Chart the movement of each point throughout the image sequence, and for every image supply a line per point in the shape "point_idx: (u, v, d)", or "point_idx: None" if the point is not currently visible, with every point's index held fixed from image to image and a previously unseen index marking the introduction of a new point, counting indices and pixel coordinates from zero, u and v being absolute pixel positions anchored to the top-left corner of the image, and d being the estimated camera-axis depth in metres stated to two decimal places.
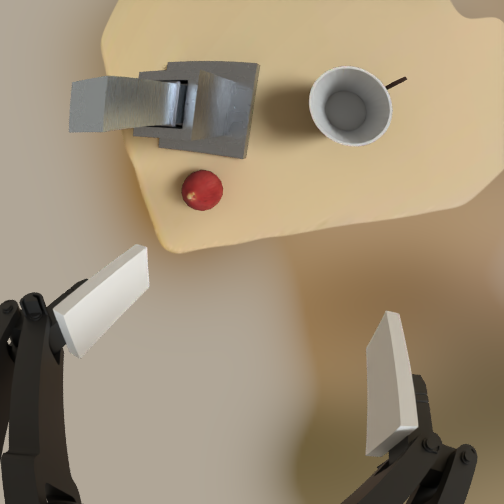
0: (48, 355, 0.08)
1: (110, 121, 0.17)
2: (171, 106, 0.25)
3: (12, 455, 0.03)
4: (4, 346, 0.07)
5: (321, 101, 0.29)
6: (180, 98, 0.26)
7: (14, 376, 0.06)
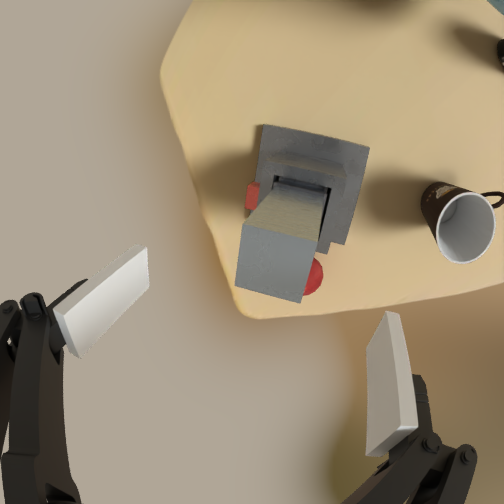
0: (48, 355, 0.08)
1: None
2: None
3: (12, 455, 0.03)
4: (4, 346, 0.07)
5: None
6: None
7: (14, 376, 0.06)
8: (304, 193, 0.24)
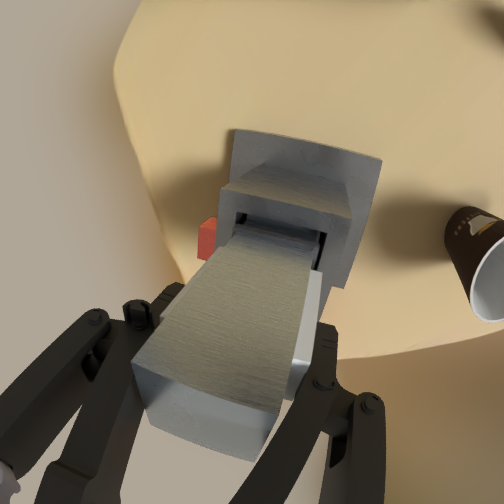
0: None
1: None
2: None
3: (62, 468, 0.04)
4: (79, 361, 0.08)
5: None
6: None
7: (93, 385, 0.07)
8: (281, 247, 0.15)
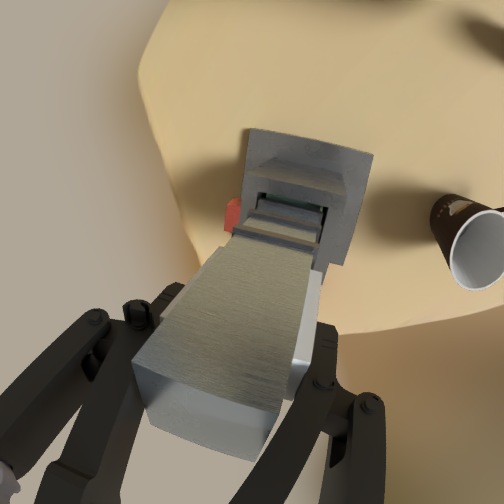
0: None
1: None
2: None
3: (62, 468, 0.04)
4: (78, 360, 0.08)
5: None
6: None
7: (93, 385, 0.07)
8: (281, 247, 0.15)
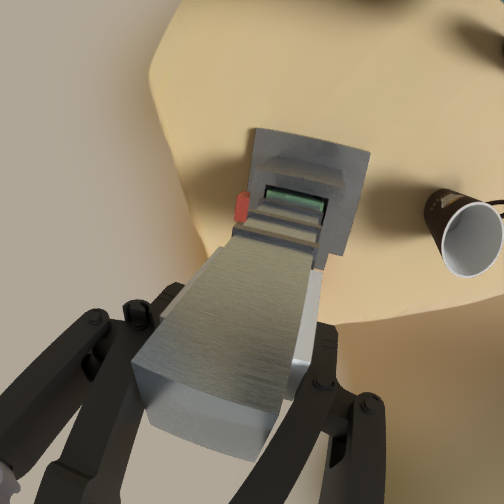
0: None
1: None
2: None
3: (62, 468, 0.04)
4: (79, 361, 0.08)
5: None
6: None
7: (93, 385, 0.07)
8: (281, 247, 0.15)
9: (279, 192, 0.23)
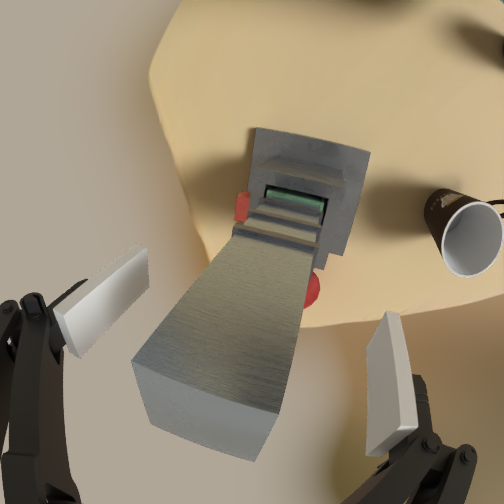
0: (48, 355, 0.08)
1: None
2: None
3: (12, 455, 0.03)
4: (4, 345, 0.07)
5: None
6: None
7: (14, 376, 0.06)
8: (281, 246, 0.15)
9: (279, 192, 0.23)
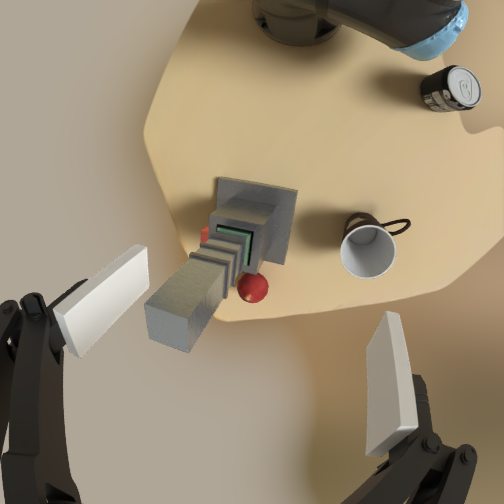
0: (48, 355, 0.08)
1: (192, 342, 0.25)
2: (225, 284, 0.32)
3: (12, 455, 0.03)
4: (4, 346, 0.07)
5: None
6: (230, 270, 0.33)
7: (14, 376, 0.06)
8: (210, 263, 0.31)
9: (224, 228, 0.40)
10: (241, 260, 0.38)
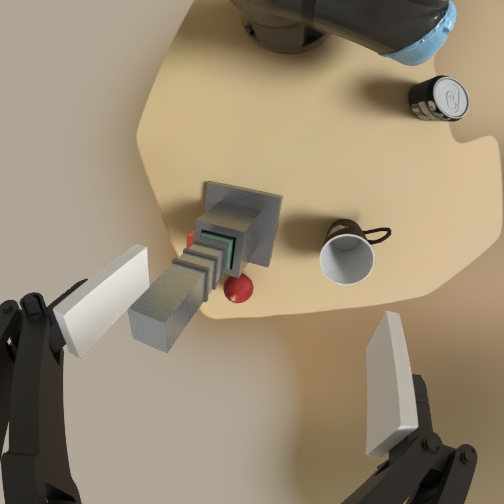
0: (48, 355, 0.08)
1: (170, 343, 0.27)
2: (204, 289, 0.35)
3: (12, 455, 0.03)
4: (4, 346, 0.07)
5: None
6: (210, 276, 0.35)
7: (14, 376, 0.06)
8: (191, 269, 0.33)
9: (208, 234, 0.42)
10: (222, 265, 0.40)
